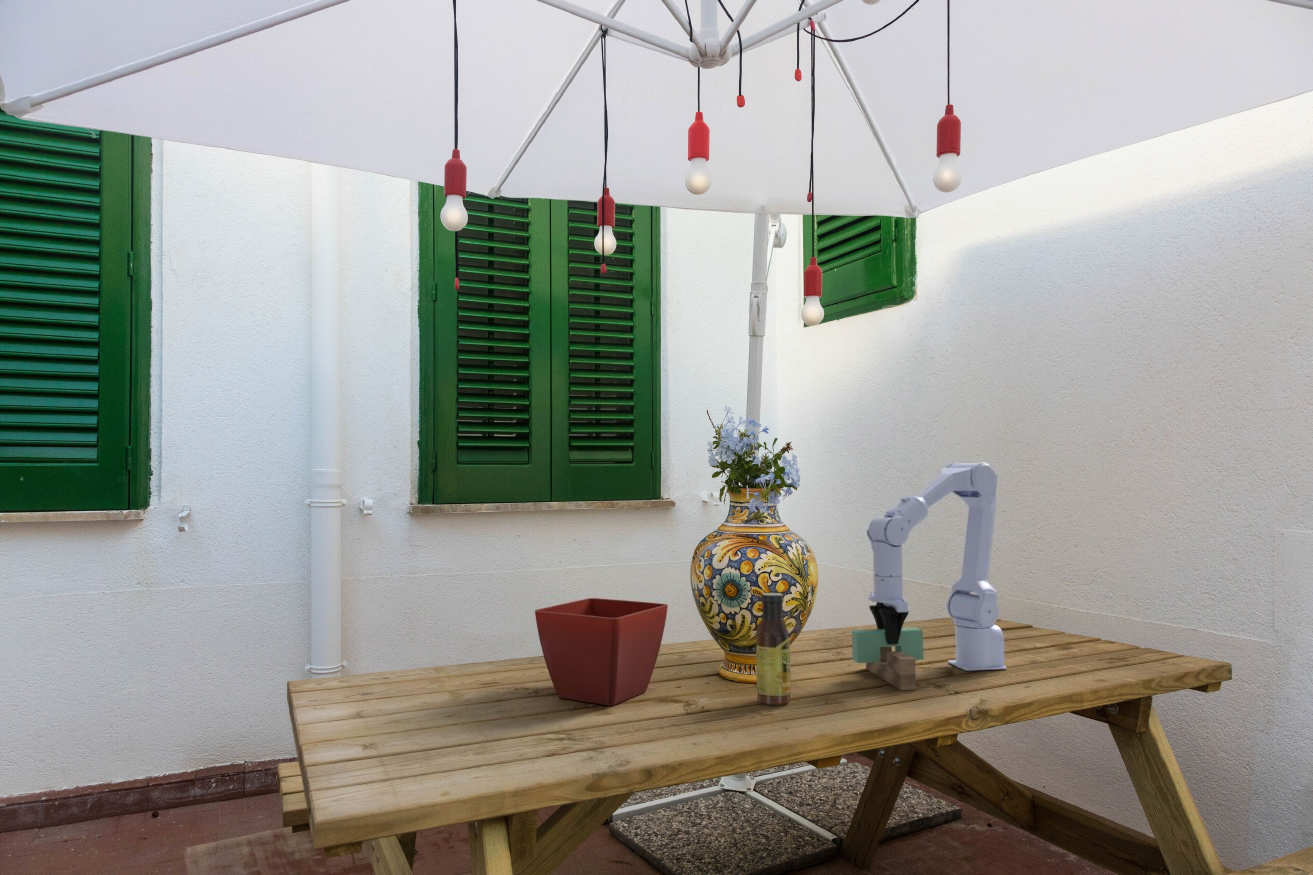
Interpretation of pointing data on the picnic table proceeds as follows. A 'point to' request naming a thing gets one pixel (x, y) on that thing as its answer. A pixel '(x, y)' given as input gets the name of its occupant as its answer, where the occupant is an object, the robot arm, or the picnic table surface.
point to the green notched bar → (885, 644)
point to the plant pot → (601, 647)
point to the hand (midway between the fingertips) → (889, 641)
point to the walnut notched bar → (895, 668)
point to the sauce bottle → (773, 653)
